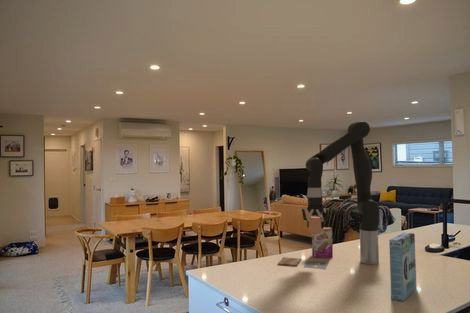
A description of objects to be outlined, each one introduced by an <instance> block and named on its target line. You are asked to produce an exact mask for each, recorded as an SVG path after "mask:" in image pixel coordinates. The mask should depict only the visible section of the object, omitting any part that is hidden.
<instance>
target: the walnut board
mask: <svg viewBox="0 0 470 313" xmlns="http://www.w3.org/2000/svg"><path fill="white" fill-rule="evenodd" d="M301 262H302V258H297V257H295V258H294V257H285V256H283V257H282V258H281V259H280V260H279V261H278V262H277V266H282V267H283V266H284V267H285V266H286V267H295V268H297V267H298V265H299V264H300V263H301Z"/></svg>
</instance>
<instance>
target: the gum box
mask: <svg viewBox="0 0 470 313" xmlns="http://www.w3.org/2000/svg"><path fill="white" fill-rule="evenodd" d="M415 236H416V235H415V233H413V232H412V233H410V232H402V233H400V234H398V235H396V236H394V237H392V238H390V239H389V240H388V241H389V270H390V271H389V272H390V273H389V274H390V275H389V276H390V299H391V300H394V301H395V300H396V301H401V302H405V300H406V299H407V298H408V297H409V296H410V295H411V294H412V293H413V292H415V290H416V289H417V286H418V285H417V265H416V264H417V263H416V261H417V260H416V240H415V239H416V238H415Z"/></svg>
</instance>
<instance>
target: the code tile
mask: <svg viewBox="0 0 470 313" xmlns="http://www.w3.org/2000/svg"><path fill="white" fill-rule="evenodd" d="M328 265H329V262H328V261H321V260H319V261H318V260H307V261H306V262H305V265H303V268H304V269H305V268H306V269H317V270H326V269H327V268H328Z"/></svg>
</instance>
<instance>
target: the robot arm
mask: <svg viewBox="0 0 470 313" xmlns="http://www.w3.org/2000/svg"><path fill="white" fill-rule="evenodd" d="M370 132H371V127H370V125H369V123H368V122H366V121H363V120H358V121H355V122H352V123H349V125H348V128H347V132H346V134H344V135H343V136H341V137H339V138H338V139H336V140H335V141H333V142H331V143H330V144H328V145H327V146H326V147H324V148H323V149H322V150H321V151H319V152H317V153H316V154H314V155H313V156H311V157H310V158H308V159H307V160H306V162H305V168H306V169H307V170H308V171H309V176H308V178H307V194H306V195H307V207H302V209H301V212H302V218H303V220H304V221H306V222H307V223H306V225H307V228H309V218H311V217H320V219H321V221H322V222H321V228H322V229H323V228H324V227H325V221H328V219H329V212H330V208H324V207H323V206H324V203H323V188H322V177H323V172H324V164H326V163H328V162H331V161H332V160H333V159H335V158H336V157H337V156H339V155H340V154H341V153H342V152H344V151H345V150H346V149H347V148H348V147H350V149H351V150H350V151H351V157H352V158H351V160H352V168H353V175H354V180H355V181H354V182H355V187H356V199H357V200H356V205H357V211H358V213H359V214H360V215H361V222H360V224H359V254H360V255H359V262H360V263H362V264H367V265H380V257H379V255H380V254H379V253H380V252H379V251H380V250H379V225H380V206H379V204H378V203H377V202H376V201H375V200H373V199H372V194H371V193H372V192H371V187H372V186H371V185H372V181H373V168H372V163H371V160H370V157H369V154H368V152H366V149H365V145H364V138H366V137H368V135H369V134H370ZM307 212H308V213H309V214H308V216H307V214H306V213H307ZM322 212H324V213H325V217H324V215H323V214H322Z"/></svg>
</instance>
